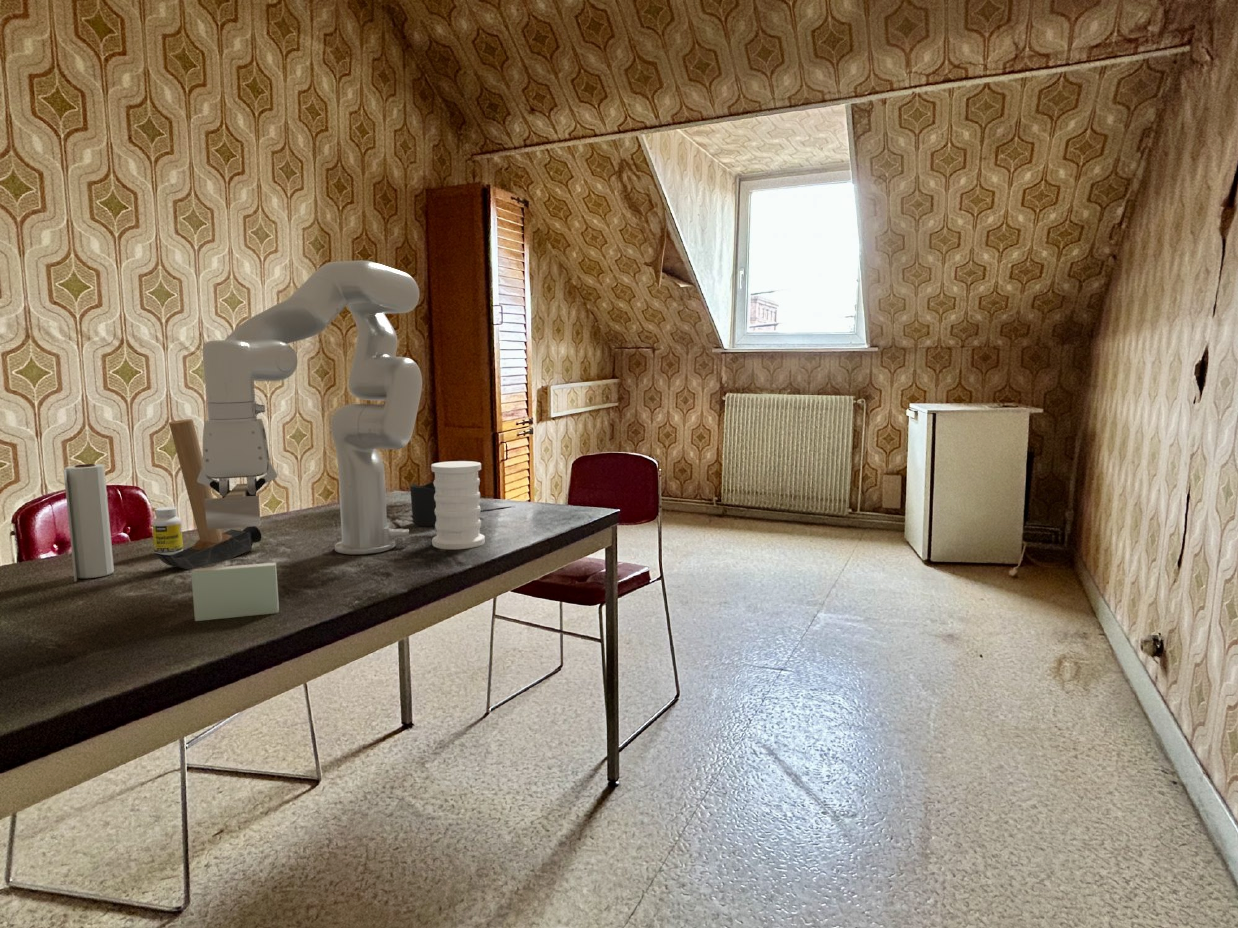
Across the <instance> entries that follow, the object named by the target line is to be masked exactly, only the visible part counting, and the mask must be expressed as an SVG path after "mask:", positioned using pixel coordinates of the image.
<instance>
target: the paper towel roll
mask: <svg viewBox="0 0 1238 928" xmlns="http://www.w3.org/2000/svg"><path fill="white" fill-rule="evenodd" d="M105 469H106V468H105V465H104V464H102V463H101V464H100V463H99V464H97V463H85V464H84V463H83V464H76V465H69V466H65V467H64V468H63V479H64V488H65V499H66V508H67V519H68V520H67V521H68V527H69V536H70V537H69V539H70V548H71V558H72V565H73V566H72V568H73V580H74V582H77V581H78V579H92V578H93V579H94V578H101V577H106V576H109V575H111V574H113V573H114V572H115V567H114V558H113V557H114V555H113V545H112V544H113V543H112V536H111V525H110V513H109V512H110V511H109V503H108V495H107V494H108V493H107V491H108V490H107V483H106V472H105Z"/></svg>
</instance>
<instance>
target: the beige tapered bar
mask: <svg viewBox="0 0 1238 928" xmlns="http://www.w3.org/2000/svg"><path fill="white" fill-rule="evenodd" d="M247 491H248V485H247V483H237V484H236V485H235V486H234V487H233V488H231V491H230V492H229V493H228V494H227V495H226V496H225V497H224V498H222V497H215V498H214V497H213V499H205V500H204V502H205V513H206V524H207V530H211V529H221V530H222V529H223V530H225V529H234V528H237V529H238V528H246V527H252V526H256V527H260V526H261V525H262V522H261V520H262V519H261V512H260V511H261V509H260V498H259V495H256V496H246V495H247Z"/></svg>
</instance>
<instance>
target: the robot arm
mask: <svg viewBox="0 0 1238 928" xmlns="http://www.w3.org/2000/svg"><path fill="white" fill-rule="evenodd" d="M419 300H420V289H419V286H418V283H417V282H416V280H415V279H414V278H413V277H412V276H411V275H410V274H409V273H407V272H405V271H402V270H399V269H396V268H393V267H389V266H387V265H384V264H381V263H379V262H375V261H370V260H366V259H365V260H359V259H358V260H346V261H345V260H343V261H332V262H331V261H330V262H328V263H324V264H323V265H321V266H320V267H319V268H318V269H317V270H315V272H314V273H312V275H310V277H308V278H307V279H306V281H304V282H303V283H302V285H300V286H299V287H298V288H297V289H296V290H295V291H294V292H293V293H292V294H291V296H289V297H288V298H287V299H285V300H283V301H281V302H279V303H277V304H275V305H273V306H271V307H269V308H267V309H265V310H264V311H261V312H260V313H258V314H255V315H254V316H252V317H250V318H248V319H247V320H245V321H244V322H242V323H241V324H240V325H239V326H238V327H236V328H235V329H234V330H233V331H232V332H230V334H229V335H227V337H226V338H225V339H223V340H221V339H219V340H218V339H217V340H209V341H206V342H205V343H204V344H203V346H202V349H201V351H202V362H203V363H202V365H203V374H204V376H203V377H204V385H205V386H204V387H205V388H204V389H205V396H206V408H207V417H208V418H207V419H208V420H205V421H204V422H203V431H202V458H203V467H202V469H201V471H200V474H199V476H198V478H197V482H198V483H200V484H203V485H206V486H210V489H212V490H214V491H215V492H217V493H218V494H219V495H220V496H221V498H224V497H225V496H226V495H227V494H228V493H229V492H230V491H231V490H232V489H231V488H230V487H231V485H230V483H231V482H230V479H236V478H238V479H240V478H241V479H242V478H246V484H247V485H248V491H247V495H246V496H257V492H258V491H259V490H260V489H261V488H262V487H263V486H264V485H265V484H267V483H269V482H272V481H273V480H276V479H277V477H278V473H277V471H276V470H275V468H274V467H273V465H272V463H271V462H270V460H271V459H270V453H269V445H268V439H267V434H266V433H267V432H266V429H265V426H264V425H265V424H264V421H263V419H262V418H258V415H259V414H261V413H266V405H265V404H259V403H257V401H256V395H255V394H256V392H255V391H256V390H255V382H279V381H280V382H281V381H284V380H286V379H289V378H290V377H291V376H292V375H293V374H294V373H295V371H296V369H297V367H298V362H299V361H298V357H297V353H296V351H295V349H294V348H293V347H292V346H291V345H290V344H291V343H295V342H298V341H299V342H300V341H303V340H307V339H309V338H312V337H314V336H316V335H318V334H321V333H322V332H324V331H325V330H326V328H327V327H328V326H329V325H330V324H331V323H332V322H333V321H334V319H336V318H337V317H338V315H339V314H340V313H341V312H342V311H343V310H344V309H345V307H347V308H348V310H349V312H350V314H351V315H352V318H353V320H354V321H353V322H355V325H356V329H357V340H356V347H355V350H354V354H353V359H352V363H351V367H350V373H349V379H348V388H349V391H350V393H351V395H352V396H353V397H355V398H356V399H360V400H363V401H364V400H365V401H376V402H377V401H379V402H381V401H383V402H385V404H379V403H378V404H375V403H351V404H346V405H343V406H340V407H339V408H337V409H336V411H334V412H333V415H332V416H331V419H330V433H331V436H332V440H333V444H334V447H335V453H336V457H337V458H336V459H337V469H338V488H339V491H338V492H339V493H338V494H339V508H340V510H339V511H340V512H339V513H340V527H341V528H340V529H341V541H338V542H337V543H335V544H334V551H335V552H337V553H338V554H343V555H369V554H370V555H371V554H377V553H383V552H386V551H389V550H392V549H393V548H395V546H396V540H395V539H408V538H409V539H410V530H409V528H405V529H404V528H395V529H394V528H391V527H390V525H389V523H388V518H387V517H388V515H387V496H386V495H387V491H386V473H385V472H386V471H385V466H384V462H383V459H382V457H381V455H380V453H379V452H378V450H399V449H403V448H404V447H406V446H407V445H408V443H409V442H410V441H411V438H412V436H413V432H414V430H415V425H416V420H417V415H418V412H419V411H418V410H419V405H420V402H421V401H420V399H421V395H422V391H423V378H422V372H421V369H420V367H419V365H418V364H417V362H415V361H414V360H413V359H411V358H409V357H405V356H397V352H398V351H397V349H398V344H399V343H398V336H397V332H396V330H395V329H394V327H393V325H392V323H391V322H390V321H389V319H388V317H387V316H386V314H390V315H391V314H407V313H409V312H412V311H413V310H414V309H415V308H416V307H417V305H418V304H419ZM263 475H264V476H263ZM257 477H259V479H257ZM217 479H218V480H217ZM230 489H231V490H230Z"/></svg>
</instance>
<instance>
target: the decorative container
mask: <svg viewBox="0 0 1238 928" xmlns="http://www.w3.org/2000/svg"><path fill="white" fill-rule="evenodd" d="M430 467H431V469H430V470H431V472H432V473H434V480H433V482H434V487H435V494H434V499H435V501H436V508H435V511H434V512H435V515H436V523H435V526H434V528H435V530H436V535H435V536H434V537H432V540H431V541H432V543H431V544H432V546H433V547H434V548H437V549H441V550H465V549H466V550H467V549H472V548H473V549H474V548H477V547H481V546H482V545H484V544H485V543H486V539H485V537H486V536H485V535H484V534H482V533H481V529H480V528H481V527H482V521H481V519H480V514H481V511H482V508H481V505H480V500H481V492H480V489H479V486H480V482H481V479H480V477H479V471H481V470H482V463H481V462H478V461H470V460H469V461H468V460H457V461H456V460H455V461H454V460H453V461H441V462H440V461H439V462H435V463H431V465H430Z"/></svg>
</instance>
